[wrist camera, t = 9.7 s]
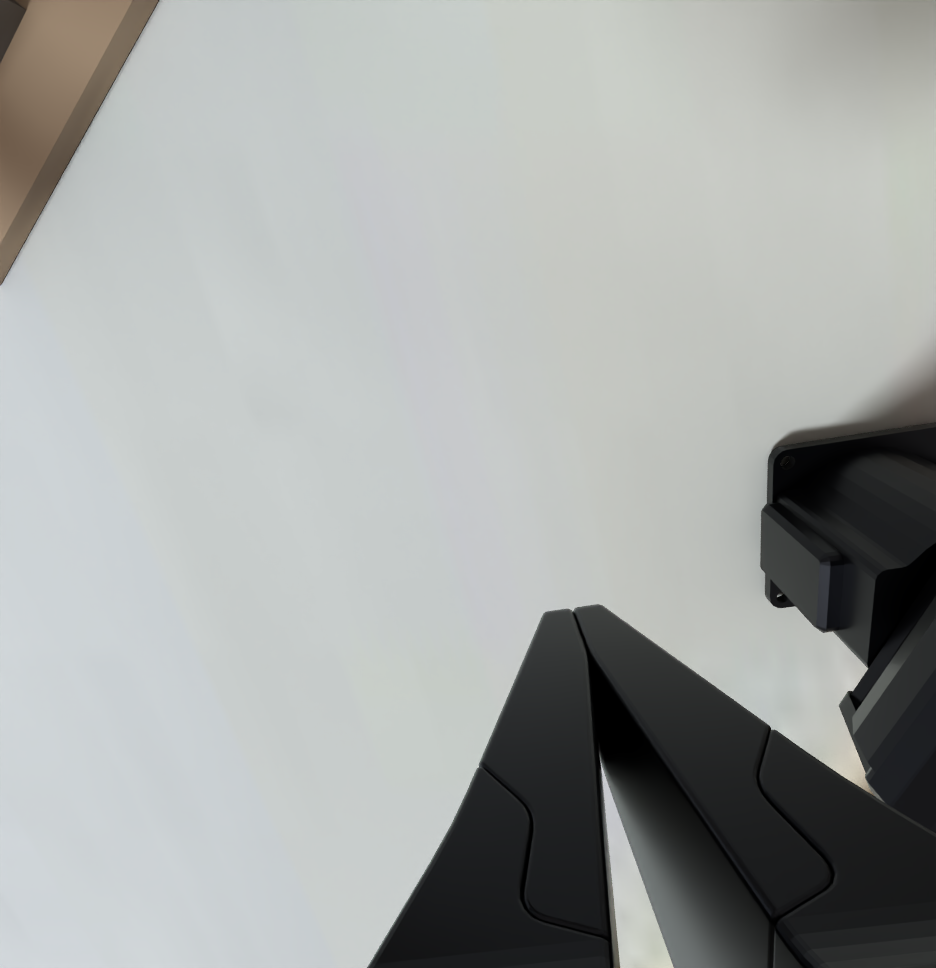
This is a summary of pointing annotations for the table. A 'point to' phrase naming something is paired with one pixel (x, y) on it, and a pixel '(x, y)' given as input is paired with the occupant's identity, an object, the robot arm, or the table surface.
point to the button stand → (52, 95)
